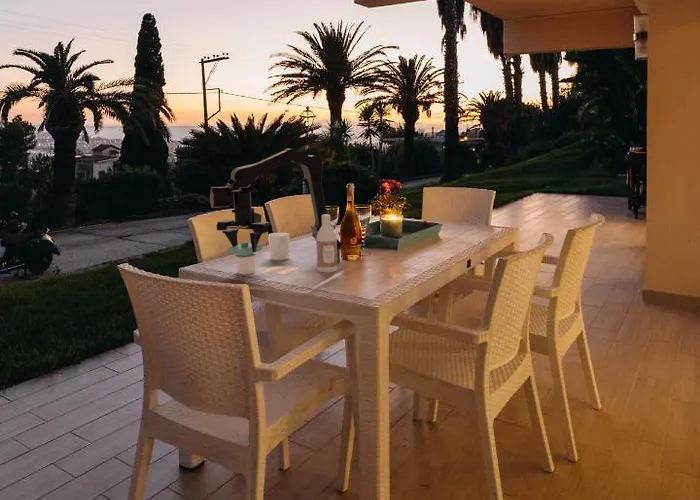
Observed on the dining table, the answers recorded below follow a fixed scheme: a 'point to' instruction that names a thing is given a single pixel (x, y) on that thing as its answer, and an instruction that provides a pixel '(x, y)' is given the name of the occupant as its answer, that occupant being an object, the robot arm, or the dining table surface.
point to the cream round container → (245, 263)
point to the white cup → (279, 245)
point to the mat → (280, 270)
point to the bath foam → (326, 247)
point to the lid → (243, 249)
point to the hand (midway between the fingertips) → (245, 251)
